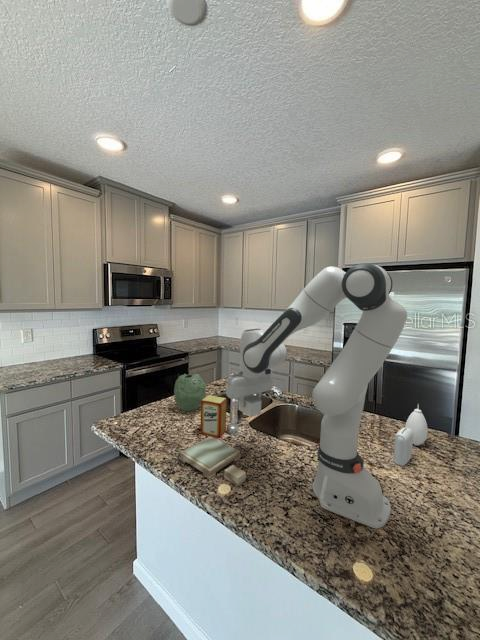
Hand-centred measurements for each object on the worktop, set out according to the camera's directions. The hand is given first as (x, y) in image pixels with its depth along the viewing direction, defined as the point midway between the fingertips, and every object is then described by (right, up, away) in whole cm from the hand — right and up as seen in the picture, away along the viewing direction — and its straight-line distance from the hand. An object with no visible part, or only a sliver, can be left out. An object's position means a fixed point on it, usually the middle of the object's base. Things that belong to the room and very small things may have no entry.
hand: (249, 405), depth 105 cm
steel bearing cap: (-7, -18, +18) cm, 26 cm away
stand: (-15, -19, -3) cm, 25 cm away
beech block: (-5, -21, -14) cm, 26 cm away
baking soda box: (-16, -18, +17) cm, 29 cm away
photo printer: (+59, -21, 0) cm, 63 cm away
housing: (0, -3, 0) cm, 3 cm away
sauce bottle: (+72, -21, +12) cm, 76 cm away
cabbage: (-31, -15, +40) cm, 53 cm away
